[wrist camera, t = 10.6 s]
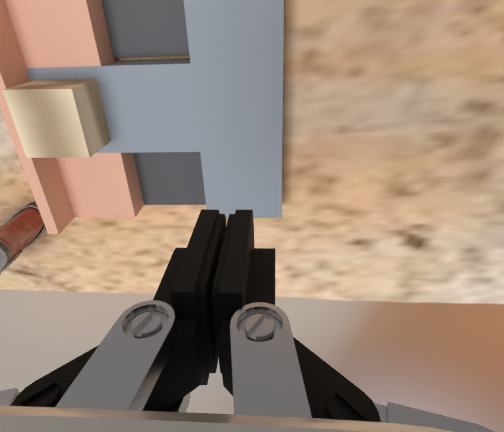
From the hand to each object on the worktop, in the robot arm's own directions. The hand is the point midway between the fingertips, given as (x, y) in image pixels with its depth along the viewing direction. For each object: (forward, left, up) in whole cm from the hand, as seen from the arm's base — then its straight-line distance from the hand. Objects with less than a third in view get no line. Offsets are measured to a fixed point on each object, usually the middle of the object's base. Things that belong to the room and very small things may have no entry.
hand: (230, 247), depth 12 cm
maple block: (+15, 0, -19) cm, 24 cm away
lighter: (+26, +13, -22) cm, 37 cm away
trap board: (+8, 0, -22) cm, 24 cm away
